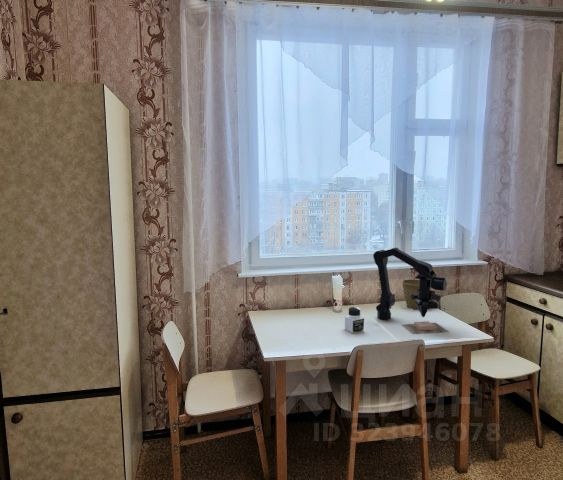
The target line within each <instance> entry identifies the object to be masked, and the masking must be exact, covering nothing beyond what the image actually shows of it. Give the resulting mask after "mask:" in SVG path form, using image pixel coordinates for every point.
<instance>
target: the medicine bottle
mask: <svg viewBox="0 0 563 480" xmlns="http://www.w3.org/2000/svg"><path fill="white" fill-rule="evenodd" d="M344 330H346V331H348V332H349V333H352V334H357V333H361V332H364V330H365V318H364V317H362V316H361V308H360V307H357V306H351V307H349V308H348V315H345V316H344Z"/></svg>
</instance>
